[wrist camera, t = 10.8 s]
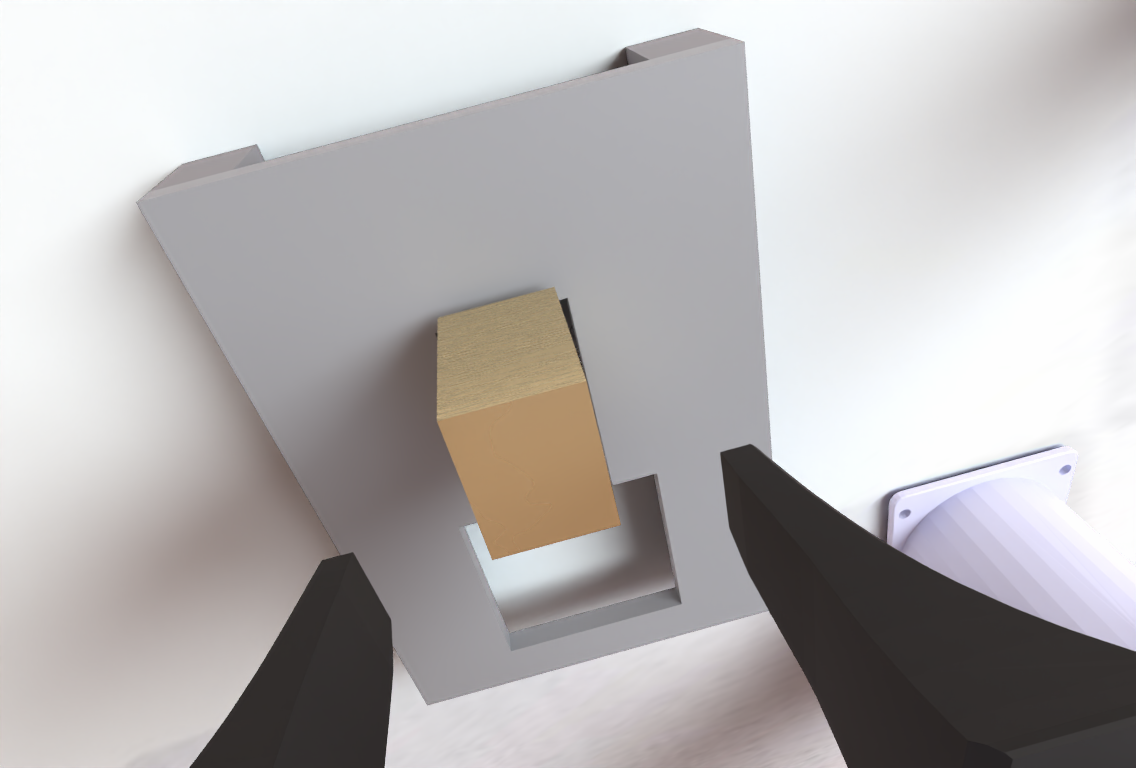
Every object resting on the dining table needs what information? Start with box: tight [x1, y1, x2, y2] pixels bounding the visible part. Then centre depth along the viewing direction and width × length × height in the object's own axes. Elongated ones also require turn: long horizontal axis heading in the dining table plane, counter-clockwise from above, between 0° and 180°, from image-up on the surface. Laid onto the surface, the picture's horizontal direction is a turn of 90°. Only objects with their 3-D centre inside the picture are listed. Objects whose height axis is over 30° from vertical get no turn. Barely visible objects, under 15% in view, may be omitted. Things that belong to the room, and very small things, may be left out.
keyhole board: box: [136, 28, 772, 705], centre depth 22 cm, size 20×14×3 cm
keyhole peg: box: [437, 287, 621, 560], centre depth 18 cm, size 5×5×8 cm
